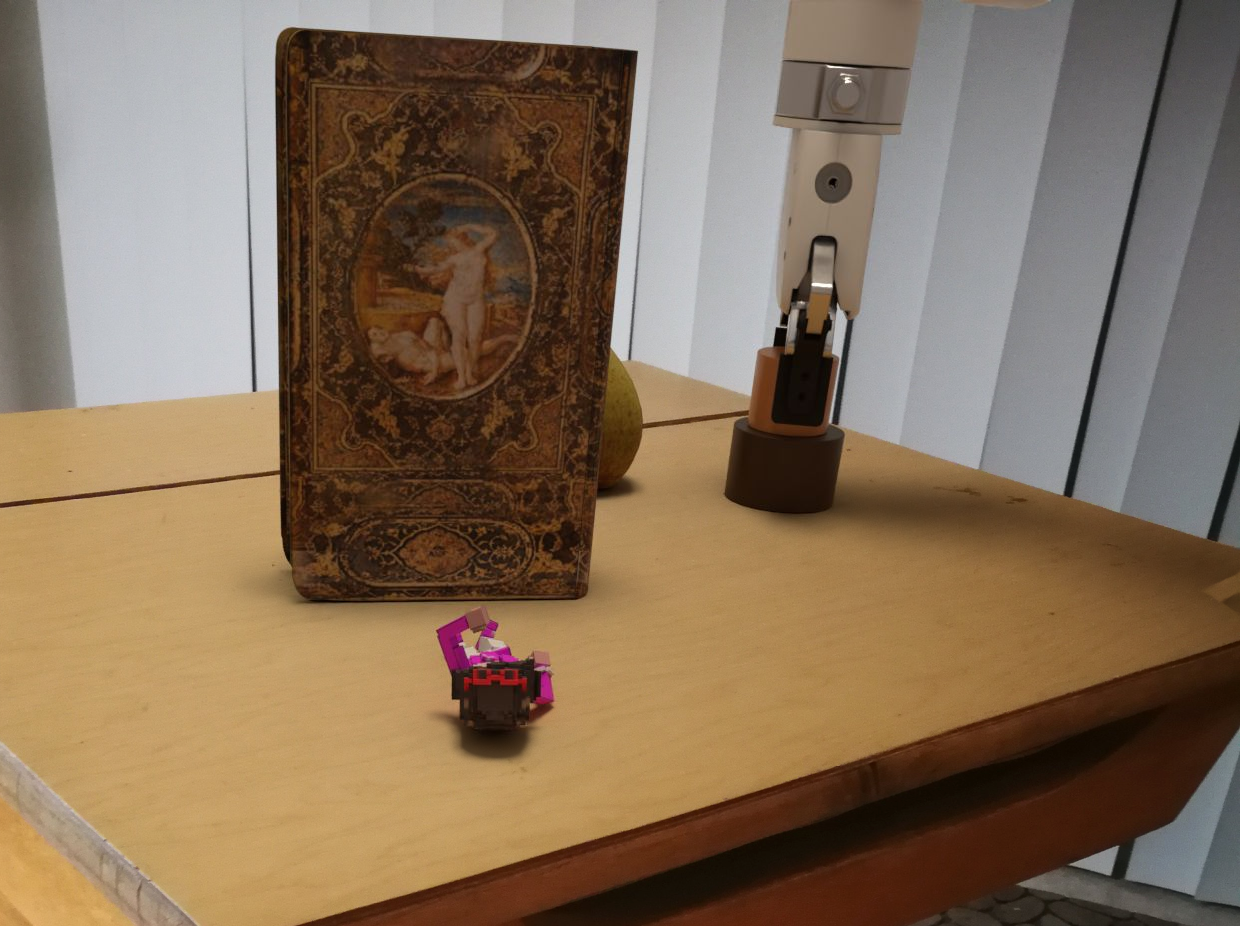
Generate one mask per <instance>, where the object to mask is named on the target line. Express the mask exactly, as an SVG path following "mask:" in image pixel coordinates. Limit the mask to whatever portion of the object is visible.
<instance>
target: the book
mask: <svg viewBox="0 0 1240 926" xmlns="http://www.w3.org/2000/svg"><path fill="white" fill-rule="evenodd" d="M638 57H639V50H635V49H626V48H616V47H615V48H614V47H604V46H603V47H602V46H593V45H580V44H579V45H577V44H564V43H563V44H562V43H544V42H530V41H514V40H499V39H482V38H469V37H467V38H466V37H452V36H451V37H450V36H435V35H418V34H403V33H402V34H401V33H390V32H389V33H386V32H368V31H356V30H339V29H323V28H310V27H308V28H307V27H295V26H290V27H289V26H288V27H286V28H284V29H283V30H281V31H280V32H279V34H278V36H277V39H276V42H275V56H274V105H275V106H274V107H275V111H274V112H275V114H274V115H275V179H276V180H275V184H276V185H275V186H276V188H275V191H276V199H275V200H276V266H277V267H276V269H277V272H276V273H277V277H276V279H277V281H276V282H277V342H278V343H277V347H278V348H277V352H278V353H277V354H278V355H277V356H278V357H277V359H278V361H277V362H278V363H277V365H278V428H279V429H278V433H279V434H278V435H279V436H278V437H279V439H278V441H279V443H278V445H279V501H280V502H279V511H280V513H279V514H280V536H281V543H282V550H283V554H284V557H285V558H286V561H287V562H288V563H289V565H290V567H291V576H292V581H293V584H294V587H295V590H296V592H297V594H298V595H300V597H302V598H304V599H306V600H317V601H318V600H319V601H320V600H321V601H347V602H349V601H350V602H403V601H405V602H407V601H409V602H411V601H412V602H413V601H465V600H466V601H477V600H479V601H480V600H484V601H485V600H487V601H488V600H547V599H549V600H550V599H551V600H552V599H553V600H554V599H555V600H557V599H574V600H577V599H580V598H583V597H584V596H586V594H587V593H588V591H589V583H590V574H591V573H590V572H591V563H592V562H591V561H592V550H593V538H594V529H595V521H596V520H595V519H596V508H597V497H598V489H597V487H598V476H599V466H600V455H601V444H602V433H603V423H604V412H605V401H606V390H607V380H608V369H609V358H610V347H612V337H613V336H612V335H613V326H614V325H613V324H614V314H615V304H616V295H617V294H616V293H617V281H618V272H619V271H618V270H619V261H620V249H621V240H622V239H621V238H622V228H623V218H624V208H625V207H624V206H625V195H626V184H627V176H628V175H627V174H628V166H629V165H628V163H629V151H630V143H631V142H630V141H631V131H632V121H633V112H634V111H633V109H634V100H635V90H636V88H635V87H636V80H637V79H636V77H637V66H638Z"/></svg>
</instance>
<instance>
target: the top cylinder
mask: <svg viewBox="0 0 1240 926" xmlns="http://www.w3.org/2000/svg"><path fill="white" fill-rule="evenodd" d="M780 353H785V347H773V346H767V347H761V348H759V349H758V350H757V352H756V359H755V367H754V373H753V380H752V388H751V395H750V400H749V401H750V402H749V408H748V416H747V417H748V422H747V423H748V425H749V426H750V427H751V428H753V429H755V430H758V431H761V432H765V433H770V434H775V435H782V436H792V437H812V436H819V435H823V434H825V433H826V432H827V430H828V425H829V424H830V420H831V419H830V418H831V414H832V413H831V412H832V406H833V401H834V395H835V389H836V383H837V382H836V381H837V377H838V371H839V365H840V357H839V356H838V355H837V354H834V353H832V354H831V357H833V358H834V359H833V365H832V371H831V377H830V383H829V389H828V395H827V401H826V407H825V413H824V420H823V423H822V424H821V425H820V426H818V427H811V426H800V425H788V424H777V423H774V422H773V421H772V419H771V412H772V405H773V398H774V391H775V384H776V378H777V371H778V364H779V357H780Z"/></svg>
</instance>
